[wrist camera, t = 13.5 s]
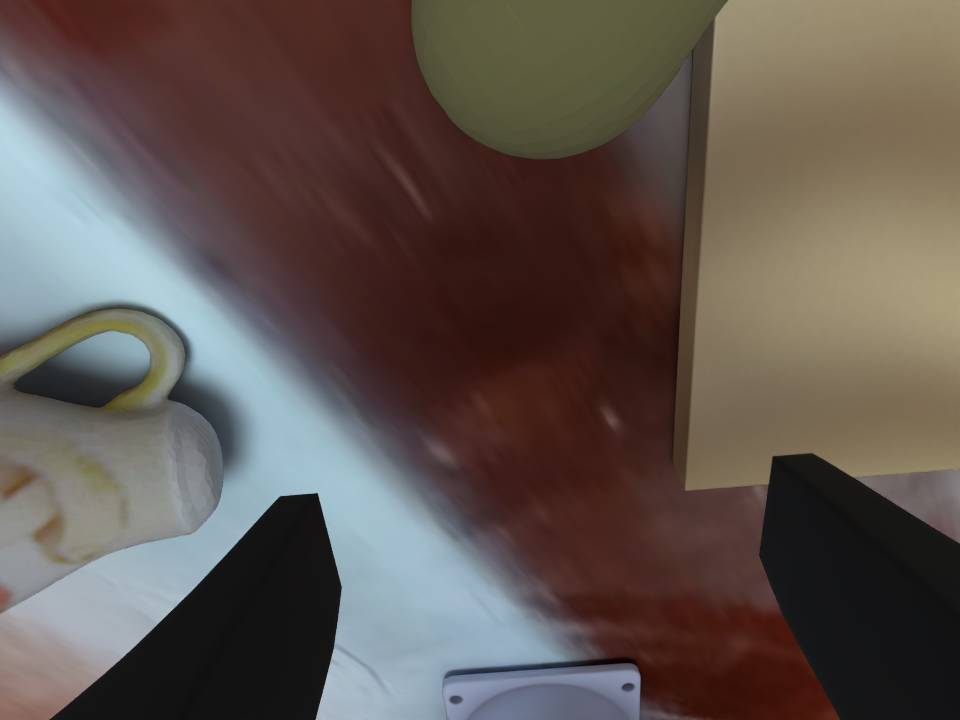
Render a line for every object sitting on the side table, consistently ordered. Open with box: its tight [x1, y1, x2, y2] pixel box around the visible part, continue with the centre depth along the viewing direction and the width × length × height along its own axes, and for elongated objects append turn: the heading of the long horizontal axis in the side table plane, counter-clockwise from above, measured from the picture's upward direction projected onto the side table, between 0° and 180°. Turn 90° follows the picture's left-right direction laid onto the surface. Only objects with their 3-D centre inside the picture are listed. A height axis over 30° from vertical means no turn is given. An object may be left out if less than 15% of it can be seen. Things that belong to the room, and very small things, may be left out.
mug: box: [0, 308, 223, 614], centre depth 19 cm, size 8×10×10 cm
